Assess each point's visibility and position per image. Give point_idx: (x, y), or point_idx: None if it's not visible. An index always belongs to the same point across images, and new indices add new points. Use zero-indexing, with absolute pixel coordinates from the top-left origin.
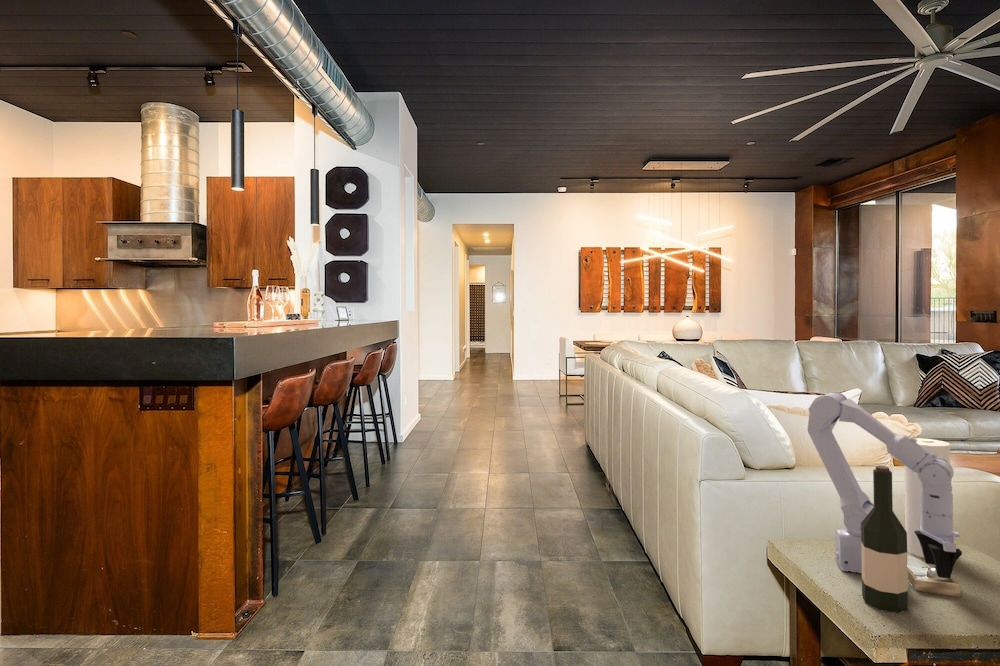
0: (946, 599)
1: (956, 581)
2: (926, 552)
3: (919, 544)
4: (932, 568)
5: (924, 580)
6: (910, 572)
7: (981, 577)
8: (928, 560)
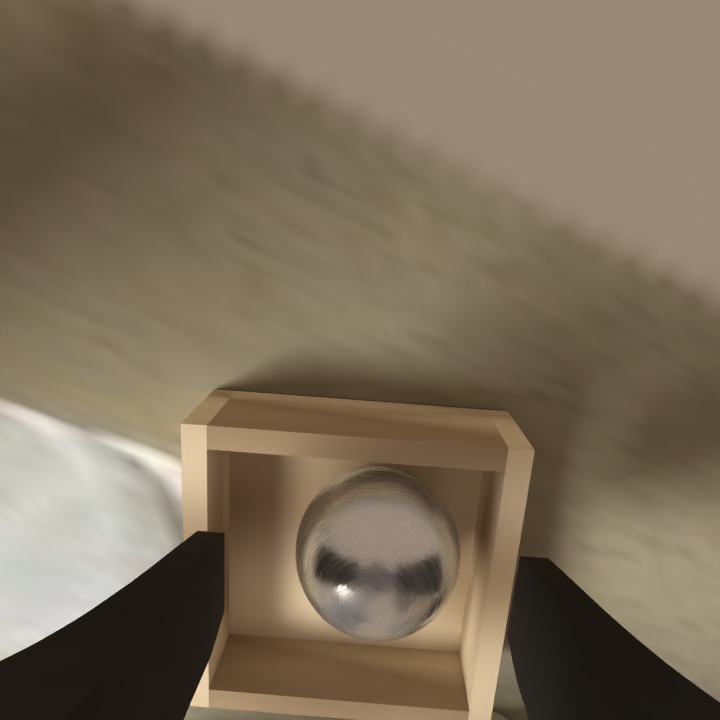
0: (569, 520)
1: (459, 446)
2: (173, 716)
3: None
4: (376, 636)
5: (490, 676)
6: (350, 713)
7: (42, 42)
8: (211, 625)
